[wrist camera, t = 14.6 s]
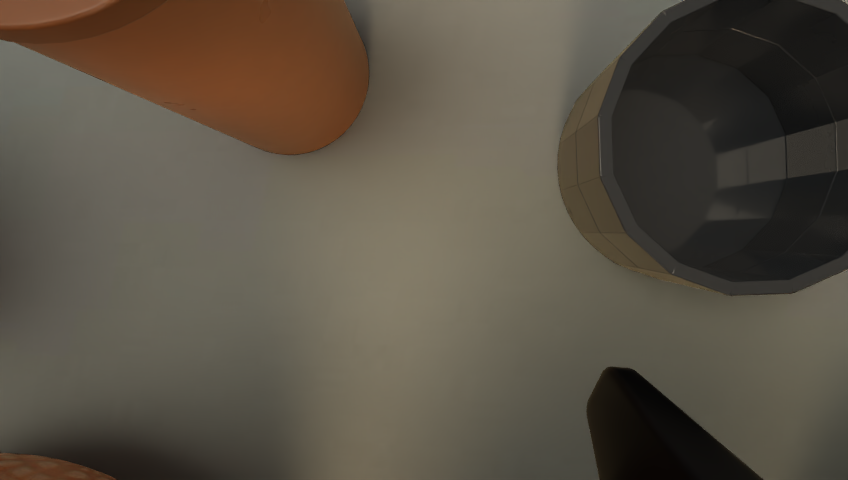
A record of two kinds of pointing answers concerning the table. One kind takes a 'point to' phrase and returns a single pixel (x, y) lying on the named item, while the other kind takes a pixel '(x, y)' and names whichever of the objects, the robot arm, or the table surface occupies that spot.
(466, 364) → the table surface
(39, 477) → the planter
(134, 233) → the table surface
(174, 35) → the orange cylindrical vase
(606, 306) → the table surface
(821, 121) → the enamel pot
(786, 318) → the table surface
